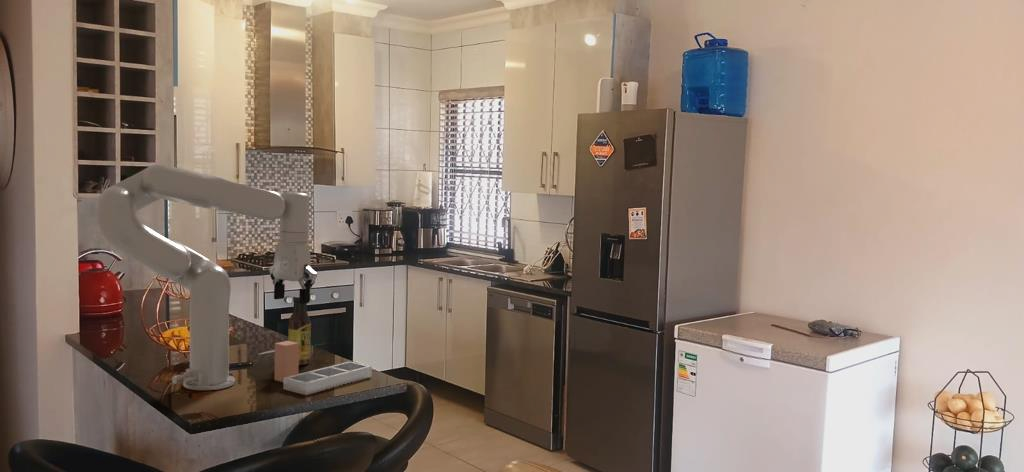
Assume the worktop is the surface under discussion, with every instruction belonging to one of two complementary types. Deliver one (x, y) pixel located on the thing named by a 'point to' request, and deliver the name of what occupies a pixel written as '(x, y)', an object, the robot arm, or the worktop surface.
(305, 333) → the sauce bottle
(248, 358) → the worktop surface
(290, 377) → the hole rail
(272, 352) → the chef's knife
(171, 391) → the worktop surface
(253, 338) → the worktop surface
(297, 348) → the square peg
